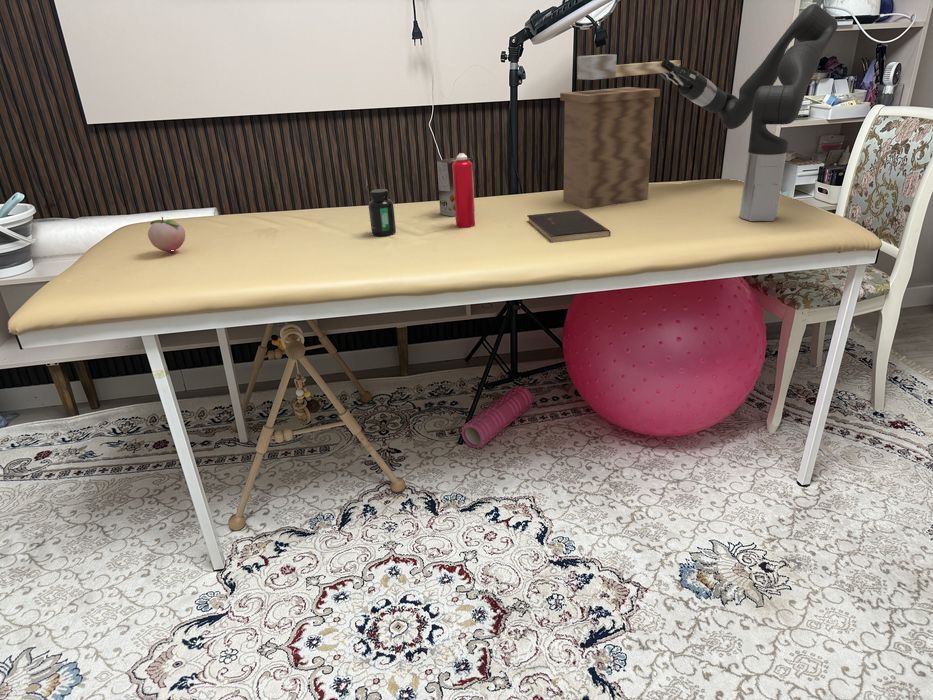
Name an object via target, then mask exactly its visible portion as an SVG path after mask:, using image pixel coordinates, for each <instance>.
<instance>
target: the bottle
mask: <svg viewBox="0 0 933 700" xmlns="http://www.w3.org/2000/svg"><path fill="white" fill-rule="evenodd" d="M455 158H456V159H457V160H456V161H455V162H454V163H453V165H452V168H453V184H454V200H455V216H454V217H455V226H456V227H457V228H462V229H463V228H467V229H468V228H471V227H472V228H473V227H475V225H476V219H475V218H476V215H475V211H474V206H475V193H474V194H473V181H474V172H473V173H472V163H471V162H470V161H469V160H467V158H468V155H466V154H465V153H464V152H459V153H458V155H456V156H455Z"/></svg>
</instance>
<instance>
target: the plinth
mask: <svg viewBox="0 0 933 700" xmlns="http://www.w3.org/2000/svg"><path fill="white" fill-rule="evenodd" d="M660 96H661V89H660V88H647V87H633V86H626V87H617V88H604V89H593V90H592V89H591V90H590V89H589V90H583V91H580V90H579V91H570V92H560V93H559V97H560V98H559V101H564V116H563V117H564V121H563V122H564V124H563V125H564V126H563V127H564V128H563V129H564V130H563V132H564V133H563V141H564V142H563V194H562V195H563V197H562V198H563V200H562V201H565V202H567V203H570V204H572V205H575V206H576V207H580V208H582V209H585V210H586V209H587V210H588V209H593V208H600V207H606V206H607V207H608V206H614V205H619V204H620V205H622V204H627V203H634V202H639V201H640V202H641V201H647V200H648V196H649V183H650V169H651V168H650V167H651V157H652V156H651V155H652V154H651V153H652V143H653V142H652V141H653V140H652V139H653V130H654V129H653V128H654V113H655V112H654V111H655V99H656V98H657V97H658V98H659V97H660Z"/></svg>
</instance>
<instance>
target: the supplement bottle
mask: <svg viewBox="0 0 933 700" xmlns="http://www.w3.org/2000/svg"><path fill="white" fill-rule="evenodd" d="M389 197H390V195H389V190H388V189H387V188H377V189H372V190H371V191H370V199H371V200H370V202H368V213H369V222H370V228H371V229H370V231H371V234H372V235H373V236H375V237H381V238H382V237H389V236H393V235H394V234H396V232H397V226H396V218H395V217H396V216H395V208H394V203H393V200H391V199H390V198H389Z"/></svg>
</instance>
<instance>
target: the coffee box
mask: <svg viewBox="0 0 933 700" xmlns="http://www.w3.org/2000/svg"><path fill="white" fill-rule="evenodd" d="M456 160H457V159H456V157H453V158H446V159H439V160H437V161H436V164H437V182H438V196H439V197H438V198H439V201H438V202H439V212H440V214H441V215H444V216H448V217H452V218H453V217H456V216H455V200H454V184H453V168H452V165H453V163H454V162H455V161H456ZM467 160H469V161H470V162H471V163H472V173H473V174H474V159H473V158H470V157H467ZM474 186H475V185H474V180H473V194H474V195H475V190H474V189H475V187H474ZM475 208H476V206H475V205H474V212H475V211H476V209H475Z"/></svg>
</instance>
